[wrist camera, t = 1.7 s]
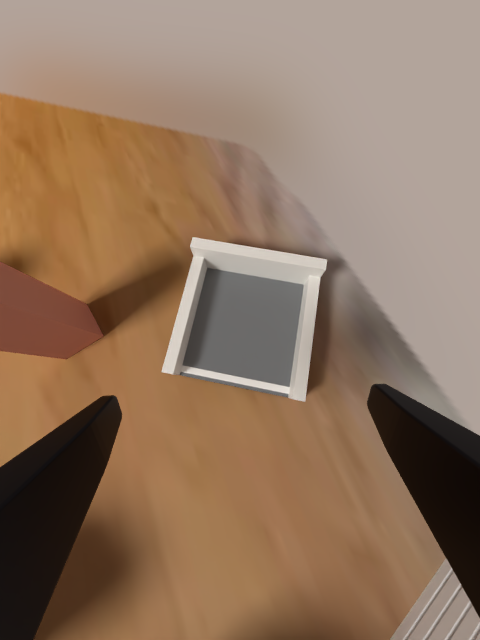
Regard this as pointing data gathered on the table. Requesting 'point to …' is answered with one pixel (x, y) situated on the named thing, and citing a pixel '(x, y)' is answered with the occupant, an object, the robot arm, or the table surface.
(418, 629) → the ridged white long block
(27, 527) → the robot arm
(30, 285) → the foosball player
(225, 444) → the table surface
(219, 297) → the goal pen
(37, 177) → the table surface
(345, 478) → the table surface
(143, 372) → the table surface
